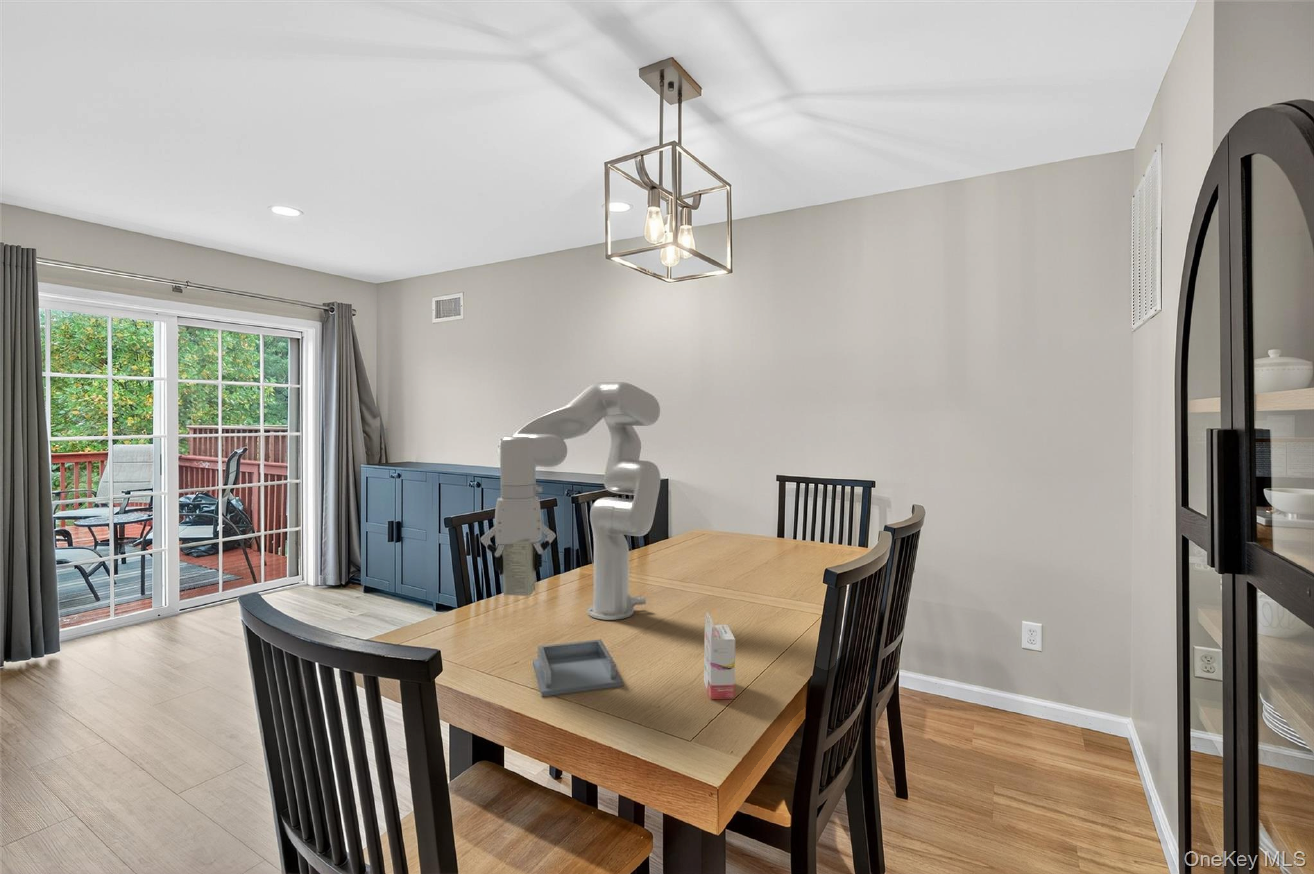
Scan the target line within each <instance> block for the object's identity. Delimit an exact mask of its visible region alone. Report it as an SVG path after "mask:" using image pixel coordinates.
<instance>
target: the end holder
mask: <svg viewBox="0 0 1314 874" xmlns="http://www.w3.org/2000/svg"><path fill="white" fill-rule="evenodd" d="M532 666H533V670H534V673H535V677H536V680H537V684H538V689H539V691H540V695H541V697H550V696H556V695H557V696H559V695H566V694H573V693H579V692H587V691H594V690H602V689H603V690H604V689H611V688H617V687H623V680H622V678H621V677H620V674H619V673H618V671H617V664H616V662H615V660H614V659H613V657H612V656H611V654H610V652H609V650H608V648H607V647H606V645H605V644H604V641H603V640H602V639H590V640H583V641H581V640H580V641H573V642H572V641H571V642H565V643H564V642H563V643H556V644H555V643H554V644H545V645H537V658H533V659H532Z"/></svg>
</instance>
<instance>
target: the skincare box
mask: <svg viewBox="0 0 1314 874" xmlns="http://www.w3.org/2000/svg"><path fill="white" fill-rule="evenodd" d="M534 552H535V547H534V545H533V543H532V544H531V543H530V541H519V542H515V544H511V545H505V547H504V549H503V551H502V557H503V574H502V585H503V586H502V587H503V592H502V593H503V596H516V597H517V596H518V597H519V596H520V597H523V596H526V597H527V596H528V597H529V596H531V595H532V594H533V593H534V592H535V591H536V571H535V557H534Z"/></svg>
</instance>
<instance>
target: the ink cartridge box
mask: <svg viewBox="0 0 1314 874" xmlns="http://www.w3.org/2000/svg"><path fill="white" fill-rule="evenodd" d="M704 622H705V623H704V654H703V655H704V657H703V659H704V660H703V682H704V685H705V687H706V691H707V693H708V696H709V697H710V699H711V700H734V699H735V688H736V687H735V686H736V685H735V681H736V680H735V677H736V676H735V675H736V674H735V673H736V672H735V671H736V666H735V665H736V663H735V662H736V638H735V636H734V634H733V632H732V631H731V629H730V626H729V625H728V624H714V623H713V620H712V618H711V616H710V614H709V611H706V613H705V621H704Z"/></svg>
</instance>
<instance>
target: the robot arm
mask: <svg viewBox="0 0 1314 874" xmlns="http://www.w3.org/2000/svg"><path fill="white" fill-rule="evenodd" d="M660 416H661V407H660V403H659V401H658V399H657V398H656V397H655V396H654V395H652V394H651V393H649V392H647V391H646V390H644V389H641V387H640V388H639V387H638V386H636V385H634V384H632V383H628V382H624V381H622V382H621V381H616V382H615V381H614V382H611V381H609V382H605V381H603V382H596V383H593V384H590V385H589V386H588V387H587V388H585V389H584V390H583V391H581V392H580V393H579V394H578V395H577V396H576V397H575V398H573V399H572V400H571V401H570V402H568V403H567V404H566V405H564V406H563V407H560V408H558V409H556V410H553V411H550V412H547V413H546V414H544V415H542V416H541V415H540V416H539V417H537V418H535V419H533V420H531V421H529V422H527V423H526V424H525V425H524V426H522V427H521V428H520V429H519V430H517V431H515V433H514V434H513V435H511V436H504V437H503V438H502V439H501V440H500V445H499V448H500V452H499V453H500V455H499V456H500V457H499V458H500V459H499V460H500V497H498V498H496V503H495V511H494V526H493V527H491V528H490V529H489V530H488V531H487V532H486V533H485V534H483V535H482V536H481V537H480V542H481V543H482V544H483V545H484V546H485V547H486V548H487V550H488V551H489V552H490V553H492V554H493V555H494V557H495V571H498V575H499V576H503V557H502V551H503V549H504V547H505V545H511V544H515V542H519V541H530V543H531V544H532V543H533V545H534V557H535V573H539V572H540V568H542V567H543V565H542V564H543V562H542V561H543V560H542V559H543V558H542V557H543V553H544V552H545V550H546V549H547V548H549V546H550V545H551V543H552V542H553V541H554V540H555V538H556V536H557V534H556V533H555V532H554V531H552V530H551V529H550V528H548V527H547V526H545V525H544V524H543V521H542V520H543V519H542V511H541V503H540V499H539V497H538V496H537V494H539V493H543V485H541V486H539V485H538V484H537V482H536V475H537V474H536V472H537V471H536V470H537V469H536V468H537V467H541V468H555V467H556V466H559V465H561V464H562V463H563V462H564V461H565V459H566V457H567V455H568V445H567V444H566V441H565V440H570V439H573V438H578V437H581V436H584V435H586V434H588V433H589V432H590V431H591V430H592V429H593V428H594V427H595V426H596V425H597V424H598V423H600V421H602V420H604V422H605V423H606V426H607V428H608V431H609V434H610V435H609V436H610V447H609V448H610V449H609V453H608V457H607V462H606V467H605V470H604V478H603V485H604V488H605V489H606V490H607V491H608V492H611V493H613V494H620V495H630V496H633V499H632V498H624V497H613V496H604V497H601V498H598V499H597V500H595V501H594V502H593V503H592V505H591V507H590V511H589V520H590V525H591V530H592V538H593V540H592V541H593V604H591V605H590V606H589V607H588V608H587V614H588V615H589V616H590V617H592V618H593V619H598V620H603V621H605V620H606V621H615V620H622V619H626V618H629V617H631V616H632V615H634V613H635V606H641V605H646V604H647V599H646V597H639V596H638V595H635V596H631V595H630V594H629V587H630V585H629V583H630V582H629V581H630V580H629V578H630V577H629V575H630V573H629V572H630V571H629V570H630V569H629V568H630V567H629V566H630V565H629V564H630V562H629V561H630V560H629V557H630V550H629V549H630V548H629V544H628V541H627V539H626V536H632V537H633V536H634V537H643V536H646V534H648V533H649V531H651V528H652V526H653V523H654V519H655V513H656V510H657V509H656V508H657V504H658V499H659V493H660V490H661V489H660V488H661V473H660V472H661V471H660V470H659V467H658V466H657V465H656V463H654V462H652V461H649V460H640V456H641V450H642V442H641V439H640V436H639V434H638V433H637V431H636V429H635V428H634V426H637V427H639V426H640V427H648V426H649V427H650V426H652V425H654V424H655V423H656V422H657V421H658V420H659V418H660ZM543 533H544V534H545V535H546V536H547V537H546V538H545V539H544V540H543ZM493 537H494V539H495V542H496V546H495V545H494V544H493V543H492V542H491V541H490V539H491V538H493ZM542 540H543V541H542ZM541 541H542V542H541ZM540 542H541V543H540Z"/></svg>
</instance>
